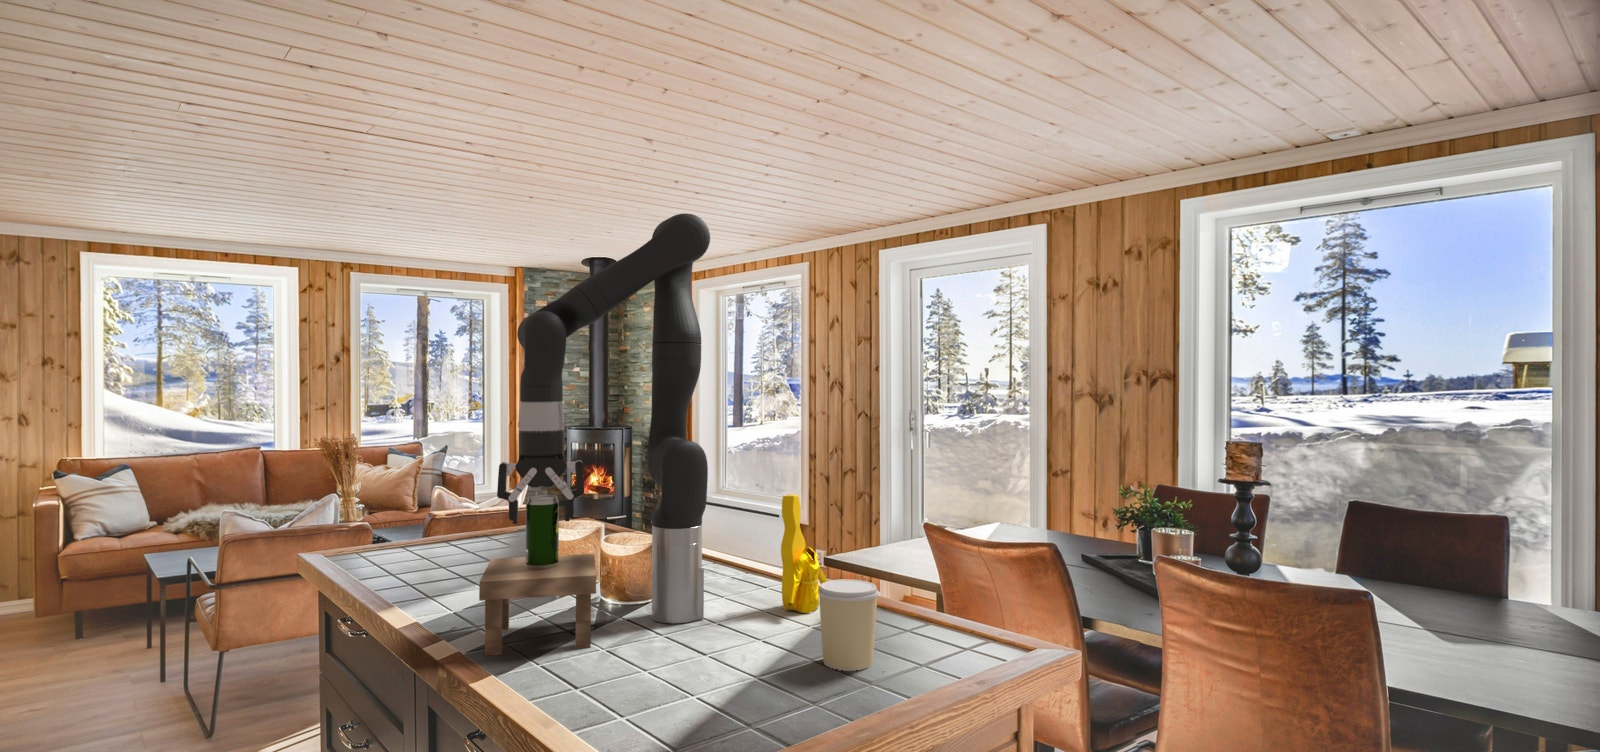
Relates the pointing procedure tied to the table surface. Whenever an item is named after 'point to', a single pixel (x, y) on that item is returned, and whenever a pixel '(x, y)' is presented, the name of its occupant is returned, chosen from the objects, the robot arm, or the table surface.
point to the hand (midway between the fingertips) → (541, 521)
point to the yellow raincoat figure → (798, 562)
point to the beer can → (542, 532)
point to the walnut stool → (536, 592)
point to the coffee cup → (848, 623)
